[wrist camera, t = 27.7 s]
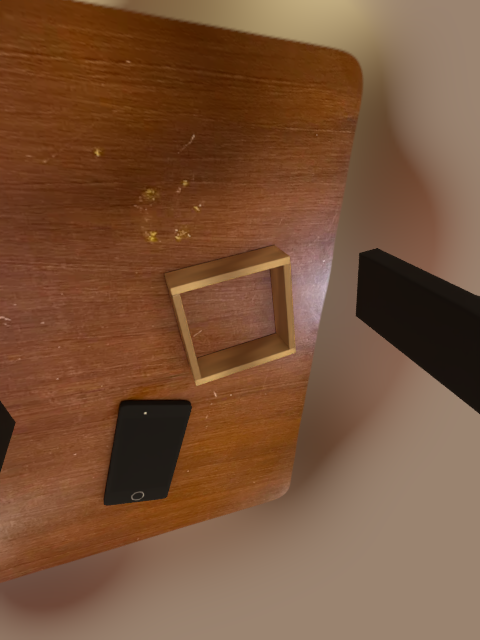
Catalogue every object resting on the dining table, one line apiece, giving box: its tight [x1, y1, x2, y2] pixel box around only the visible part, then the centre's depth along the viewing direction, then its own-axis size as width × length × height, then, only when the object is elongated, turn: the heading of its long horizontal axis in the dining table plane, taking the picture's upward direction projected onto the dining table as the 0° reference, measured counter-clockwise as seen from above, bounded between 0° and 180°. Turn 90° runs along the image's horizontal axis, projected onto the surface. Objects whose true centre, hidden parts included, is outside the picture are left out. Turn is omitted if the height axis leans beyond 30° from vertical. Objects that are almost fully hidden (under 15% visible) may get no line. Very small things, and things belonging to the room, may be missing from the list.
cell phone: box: [104, 401, 192, 505], centre depth 46 cm, size 9×18×1 cm, turn 163°
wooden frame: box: [164, 245, 296, 386], centre depth 39 cm, size 13×13×4 cm
